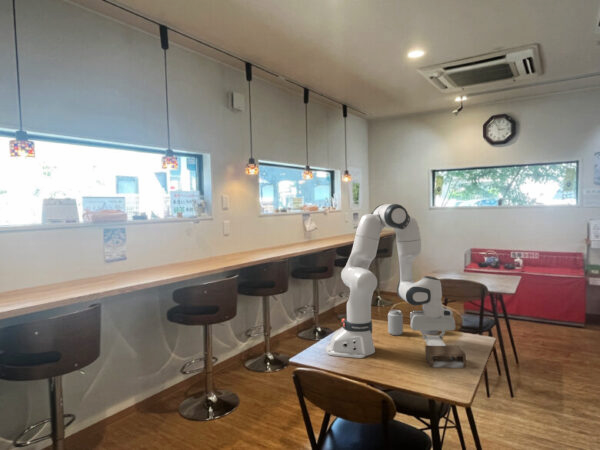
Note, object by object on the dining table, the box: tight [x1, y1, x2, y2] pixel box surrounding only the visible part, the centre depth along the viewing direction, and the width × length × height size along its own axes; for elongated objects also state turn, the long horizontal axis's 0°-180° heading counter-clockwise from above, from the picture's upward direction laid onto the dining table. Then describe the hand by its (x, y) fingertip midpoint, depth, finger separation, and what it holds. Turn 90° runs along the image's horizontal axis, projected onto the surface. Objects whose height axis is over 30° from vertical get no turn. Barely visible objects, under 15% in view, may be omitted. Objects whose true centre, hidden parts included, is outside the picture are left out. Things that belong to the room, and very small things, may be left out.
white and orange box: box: [425, 335, 447, 346], centre depth 175 cm, size 6×16×3 cm, turn 175°
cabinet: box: [424, 345, 467, 369], centre depth 160 cm, size 14×10×6 cm
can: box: [387, 309, 404, 337], centre depth 198 cm, size 8×8×12 cm
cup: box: [423, 330, 440, 336], centre depth 198 cm, size 8×8×10 cm
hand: (432, 339), depth 182 cm, fingers closed on white and orange box, 6 cm apart
